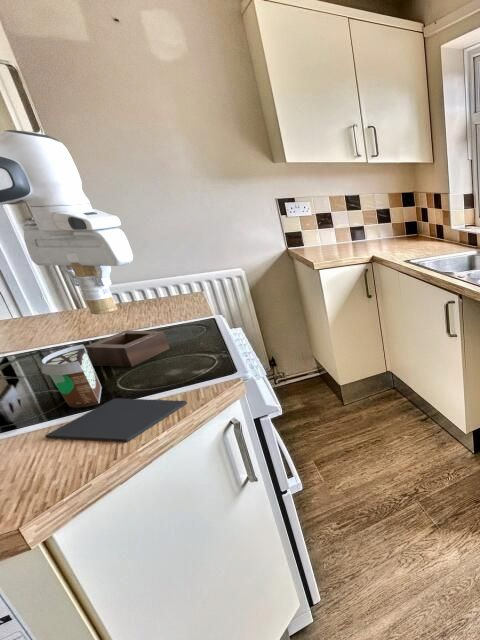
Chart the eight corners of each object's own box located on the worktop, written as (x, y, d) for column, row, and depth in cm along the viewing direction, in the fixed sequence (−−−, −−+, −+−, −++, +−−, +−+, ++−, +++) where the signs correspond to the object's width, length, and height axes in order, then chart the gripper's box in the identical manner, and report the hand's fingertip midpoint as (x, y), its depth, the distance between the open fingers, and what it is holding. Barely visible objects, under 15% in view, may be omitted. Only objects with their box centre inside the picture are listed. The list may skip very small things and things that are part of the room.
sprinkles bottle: (105, 308, 96) (80, 249, 91) (123, 309, 96) (100, 249, 90) (84, 315, 92) (58, 253, 86) (104, 315, 91) (78, 253, 86)
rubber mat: (46, 438, 75) (44, 435, 75) (115, 400, 87) (114, 398, 87) (127, 442, 74) (126, 439, 73) (187, 403, 85) (186, 400, 85)
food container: (63, 394, 90) (42, 351, 86) (102, 384, 93) (83, 343, 90) (56, 418, 81) (32, 371, 77) (98, 406, 85) (78, 362, 81)
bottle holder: (91, 365, 103) (82, 347, 101) (132, 347, 113) (125, 330, 111) (132, 367, 102) (124, 348, 100) (170, 348, 112) (163, 331, 110)
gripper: (2, 221, 84) (33, 288, 89) (96, 221, 82) (122, 289, 87) (37, 217, 90) (65, 281, 95) (126, 217, 88) (149, 282, 93)
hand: (93, 285), depth 91 cm, fingers closed on sprinkles bottle, 4 cm apart
